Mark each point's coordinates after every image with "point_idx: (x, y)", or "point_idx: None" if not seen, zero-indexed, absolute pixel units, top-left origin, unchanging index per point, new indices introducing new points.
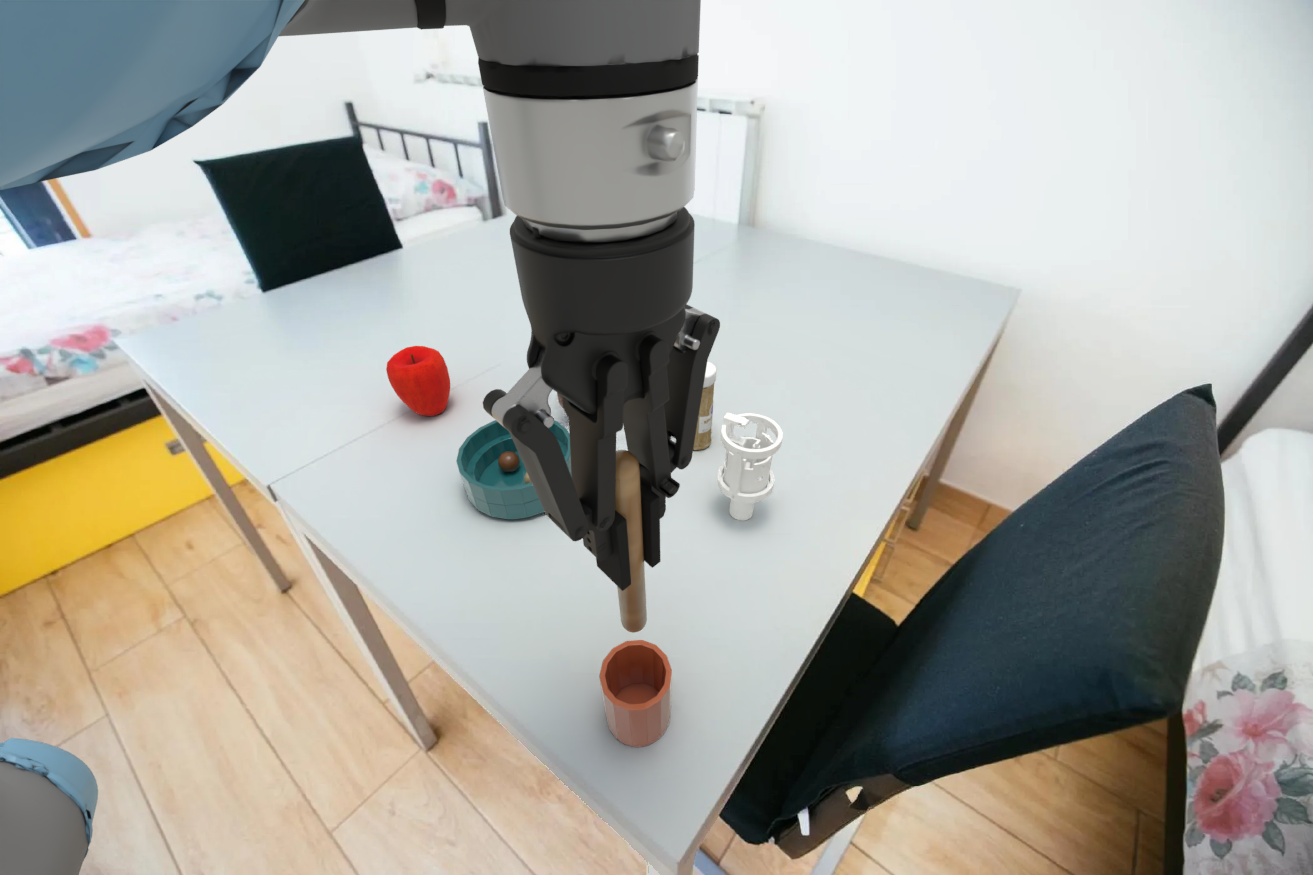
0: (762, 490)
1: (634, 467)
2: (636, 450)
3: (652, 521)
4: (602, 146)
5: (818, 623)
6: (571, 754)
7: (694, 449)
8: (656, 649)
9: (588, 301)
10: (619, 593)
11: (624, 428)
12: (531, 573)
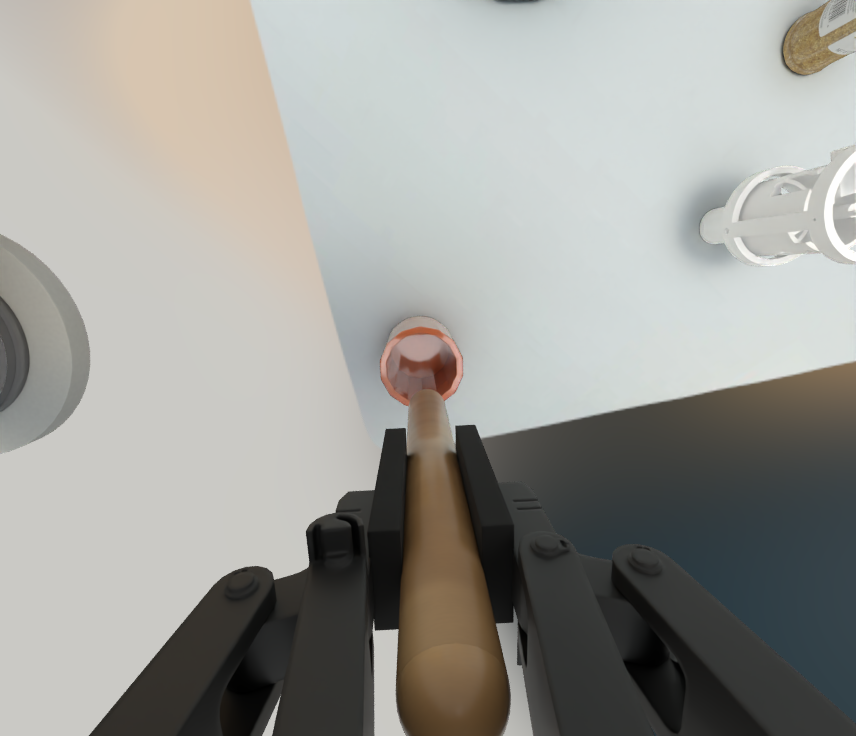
0: (767, 255)
1: None
2: (536, 680)
3: None
4: None
5: (633, 404)
6: (344, 337)
7: (786, 62)
8: (459, 361)
9: None
10: (407, 434)
11: (554, 717)
12: (424, 99)
